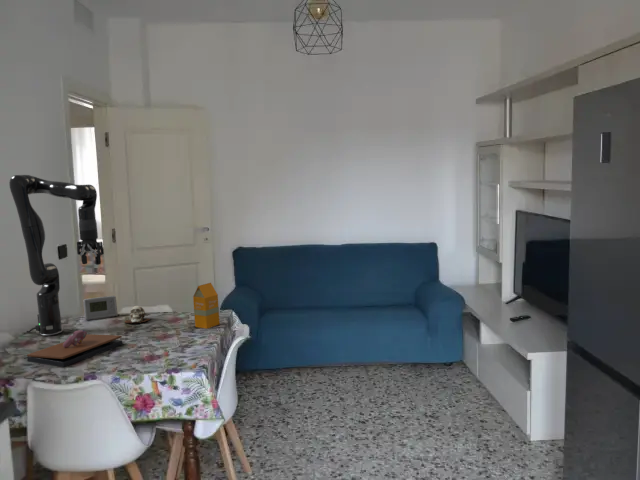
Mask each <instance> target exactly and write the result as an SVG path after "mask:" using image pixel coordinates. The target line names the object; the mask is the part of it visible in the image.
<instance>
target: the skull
mask: <svg viewBox="0 0 640 480" xmlns="http://www.w3.org/2000/svg"><path fill="white" fill-rule="evenodd" d="M129 316H130V318H131V319H127V320H125V321H124V323H126V324H139V323H140V324H141V323H146V322H147V323H148V322H149V321H151V318H148V317H145V316H146V311H145V309H144V308H143V307H142V306H140V305H134V306H133V307H132V308H131V310H130V314H129Z"/></svg>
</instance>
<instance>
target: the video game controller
mask: <svg viewBox="0 0 640 480" xmlns="http://www.w3.org/2000/svg"><path fill="white" fill-rule="evenodd" d="M87 334H88V332H87V331H85V330H82V329H80V330H75V331H74V332H72V333H71V334H70V335H69V336H68V337H67V338H66V340H65V341H63V342H64V343H63V342H62V343H63V347H64V348H67V347H69V346H70V345H71V344H72V345H74V346H75V345H76V344H77V343H79V344H80V343H81V342H82V340H83V339H84V338H85V337H86V335H87Z"/></svg>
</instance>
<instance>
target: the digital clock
mask: <svg viewBox="0 0 640 480" xmlns="http://www.w3.org/2000/svg"><path fill="white" fill-rule="evenodd" d="M82 303H83V311H84V312H83V315H84V320H85V321H91V320H92V321H95V320H103V319H110V318H114V317H118V315H119V312H118V304H117V303H118V302H117V296H116V295H106V296H98V297H89V298H84V299H83V300H82Z"/></svg>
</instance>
